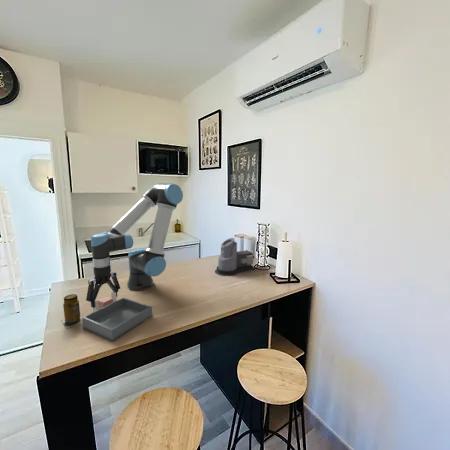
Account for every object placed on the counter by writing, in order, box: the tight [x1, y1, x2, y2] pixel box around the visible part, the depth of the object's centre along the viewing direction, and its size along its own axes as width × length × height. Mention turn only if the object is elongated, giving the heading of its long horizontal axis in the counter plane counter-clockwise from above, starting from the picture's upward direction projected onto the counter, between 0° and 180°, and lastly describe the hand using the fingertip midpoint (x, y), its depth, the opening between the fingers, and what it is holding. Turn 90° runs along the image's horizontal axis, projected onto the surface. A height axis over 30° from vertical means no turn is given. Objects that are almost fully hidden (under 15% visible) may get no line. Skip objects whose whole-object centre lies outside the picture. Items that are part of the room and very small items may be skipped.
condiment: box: [61, 293, 83, 329], centre depth 111 cm, size 7×8×12 cm
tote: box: [81, 297, 153, 342], centre depth 111 cm, size 20×22×5 cm
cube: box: [96, 295, 113, 309], centre depth 123 cm, size 5×5×5 cm
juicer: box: [214, 237, 256, 277], centre depth 178 cm, size 30×16×24 cm, turn 116°
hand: (105, 308), depth 124 cm, fingers open, 10 cm apart
